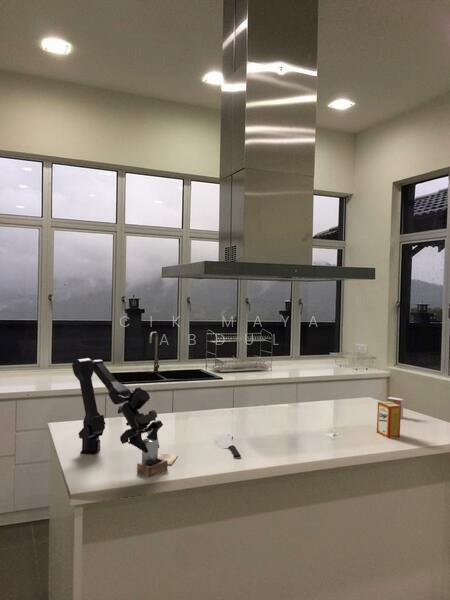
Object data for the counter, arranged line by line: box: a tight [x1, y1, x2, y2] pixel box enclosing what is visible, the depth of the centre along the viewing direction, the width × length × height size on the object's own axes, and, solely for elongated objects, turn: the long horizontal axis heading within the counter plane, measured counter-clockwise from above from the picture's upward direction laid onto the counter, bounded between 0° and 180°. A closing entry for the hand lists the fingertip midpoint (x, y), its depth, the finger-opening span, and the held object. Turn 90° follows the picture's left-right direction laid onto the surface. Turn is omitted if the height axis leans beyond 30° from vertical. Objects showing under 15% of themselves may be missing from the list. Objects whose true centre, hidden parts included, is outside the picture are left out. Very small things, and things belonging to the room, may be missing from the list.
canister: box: [141, 437, 159, 466], centre depth 188 cm, size 6×6×10 cm
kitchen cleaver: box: [214, 433, 242, 459], centre depth 219 cm, size 31×2×10 cm
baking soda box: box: [376, 400, 402, 439], centre depth 244 cm, size 10×6×16 cm
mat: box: [158, 452, 178, 467], centre depth 200 cm, size 12×11×1 cm
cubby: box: [136, 458, 168, 478], centre depth 187 cm, size 7×10×4 cm
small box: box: [386, 396, 405, 419], centre depth 281 cm, size 8×6×10 cm
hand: (152, 450), depth 187 cm, fingers closed on canister, 6 cm apart
